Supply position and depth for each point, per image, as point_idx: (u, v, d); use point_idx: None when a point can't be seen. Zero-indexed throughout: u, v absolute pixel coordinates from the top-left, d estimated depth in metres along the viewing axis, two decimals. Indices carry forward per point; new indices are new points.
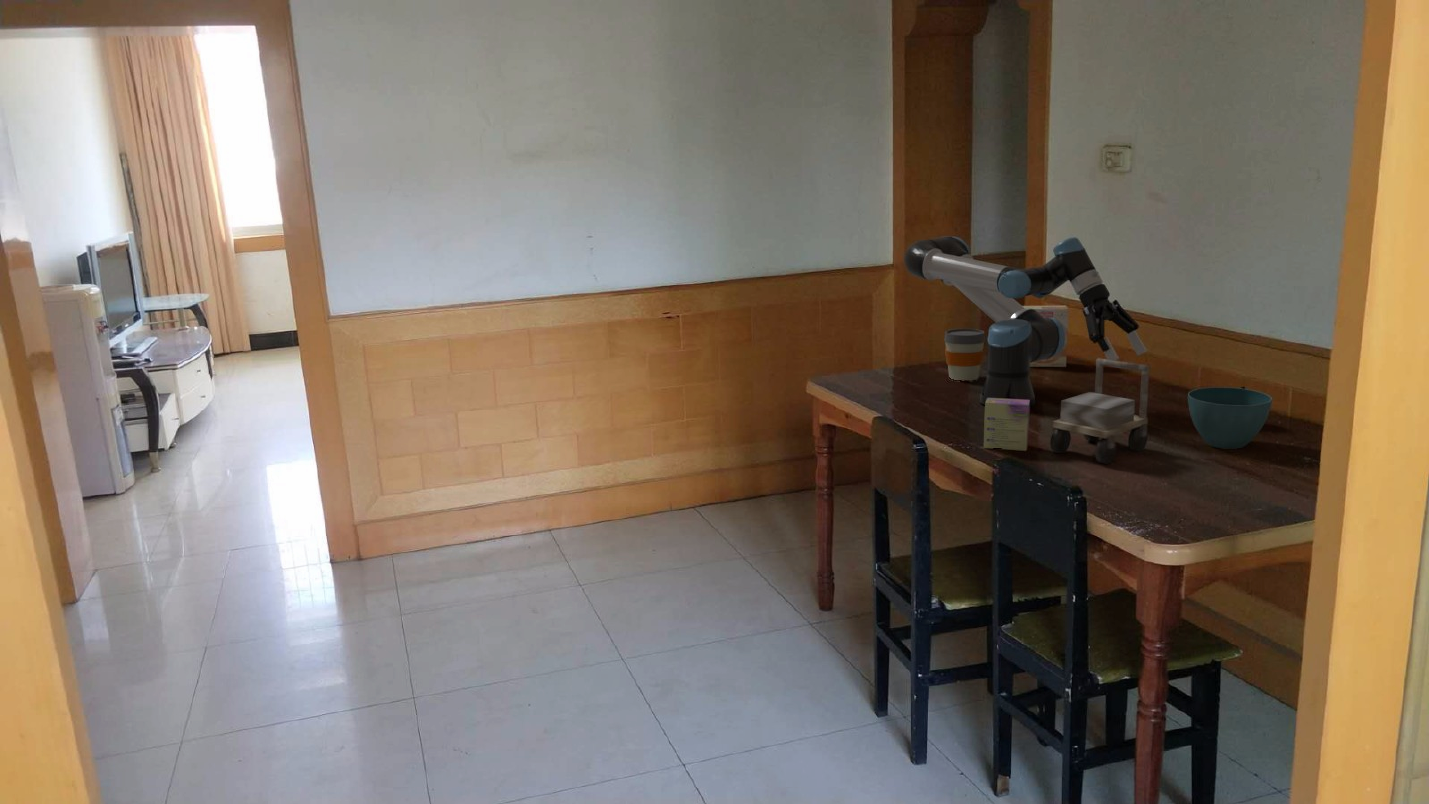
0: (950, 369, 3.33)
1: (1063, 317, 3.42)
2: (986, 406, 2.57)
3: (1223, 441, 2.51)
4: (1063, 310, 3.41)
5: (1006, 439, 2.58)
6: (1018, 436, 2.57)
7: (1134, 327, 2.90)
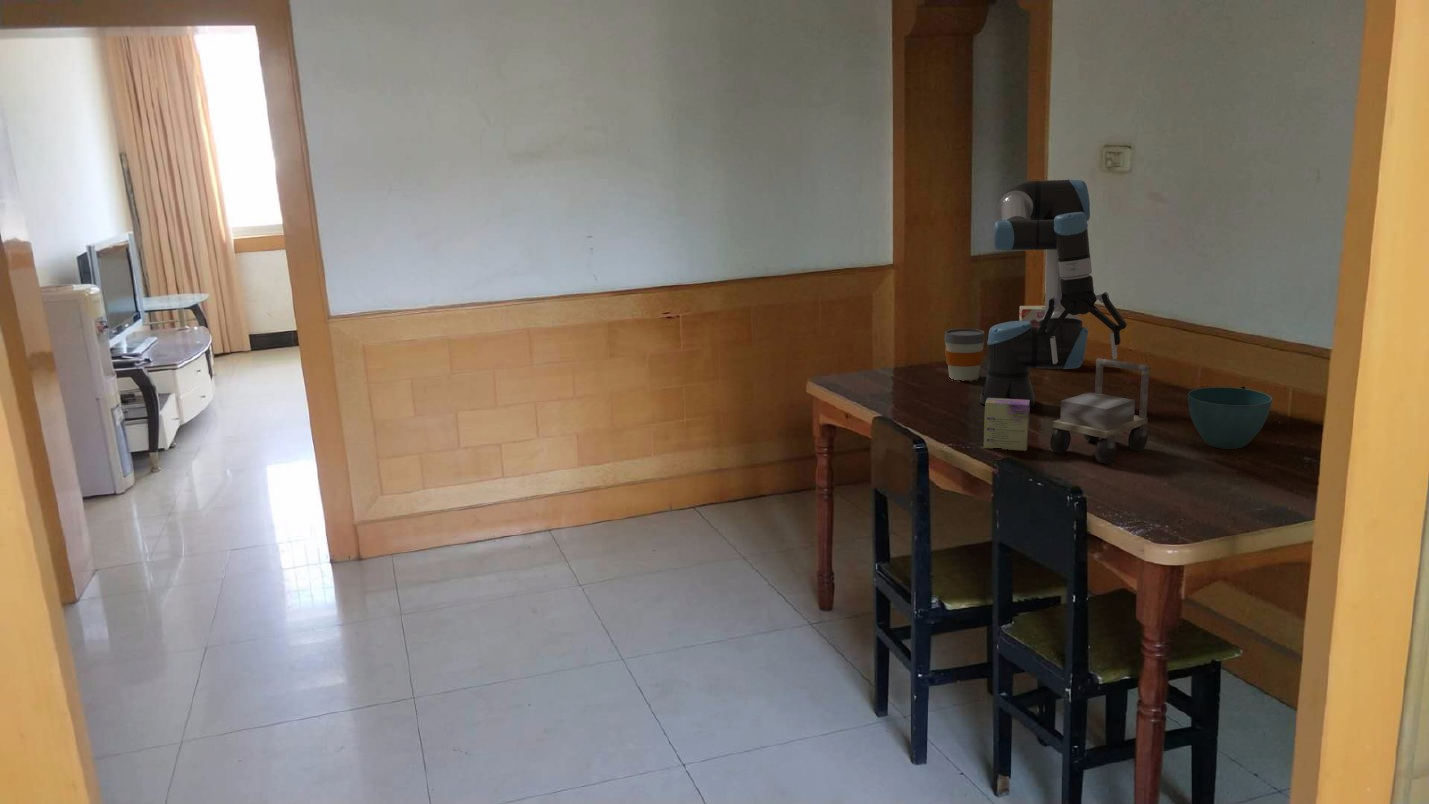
0: (950, 369, 3.33)
1: None
2: (986, 406, 2.57)
3: (1223, 441, 2.51)
4: None
5: (1006, 439, 2.58)
6: (1018, 436, 2.57)
7: (1114, 329, 2.55)
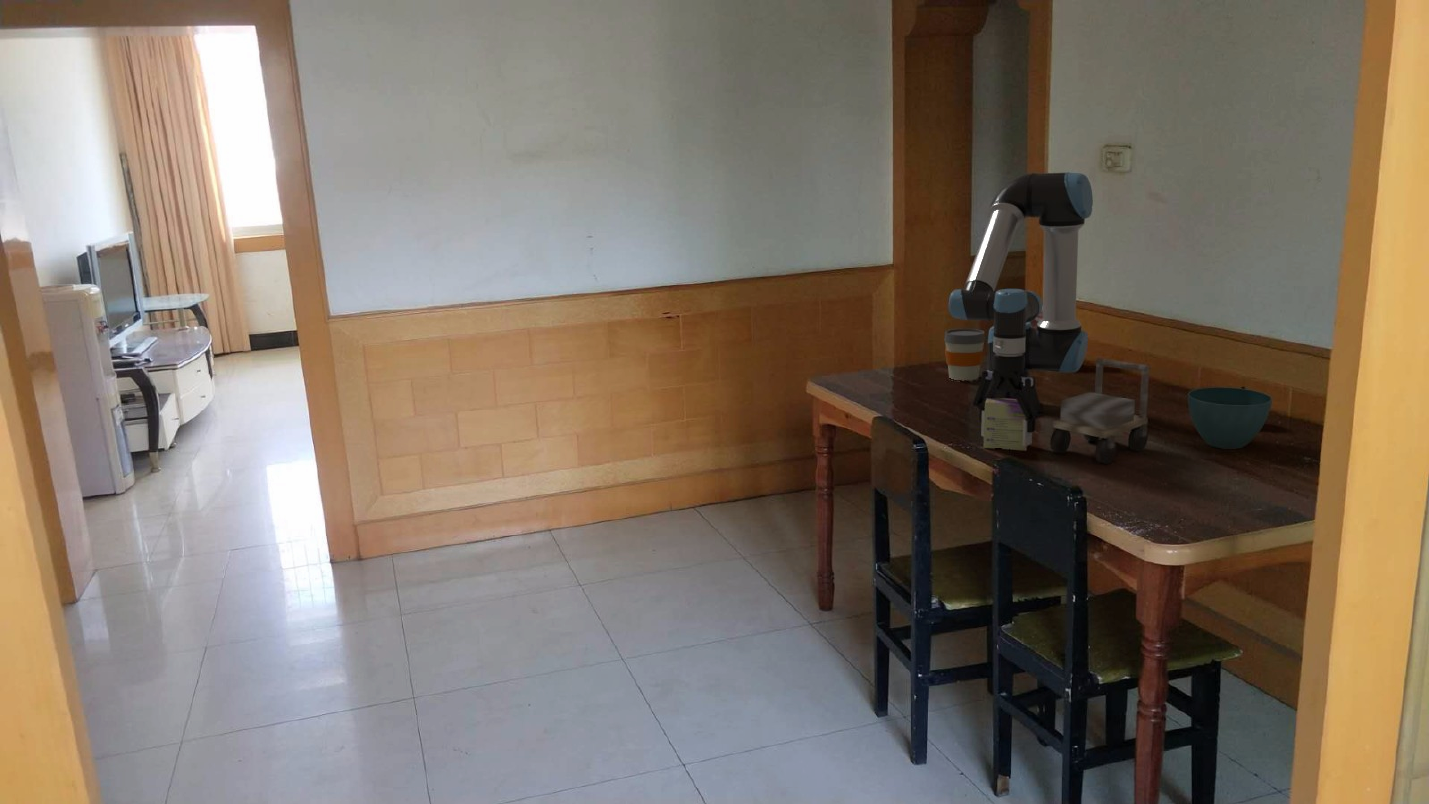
0: (950, 369, 3.33)
1: None
2: (986, 406, 2.57)
3: (1223, 441, 2.51)
4: None
5: (1006, 439, 2.58)
6: (1017, 436, 2.57)
7: (1027, 417, 2.53)
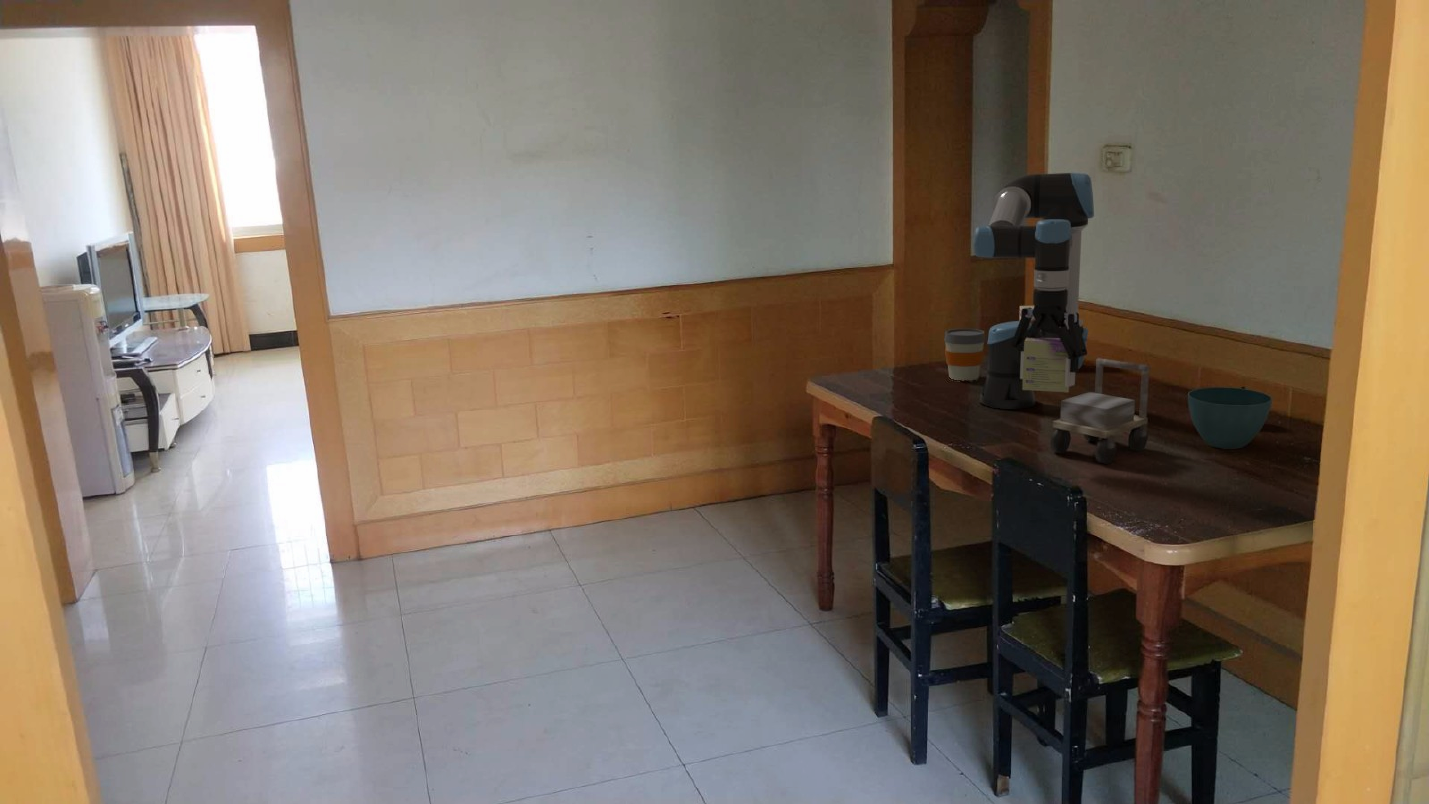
0: (950, 369, 3.33)
1: None
2: (1025, 345, 2.42)
3: (1223, 441, 2.51)
4: None
5: (1047, 380, 2.42)
6: (1059, 377, 2.41)
7: (1070, 355, 2.37)
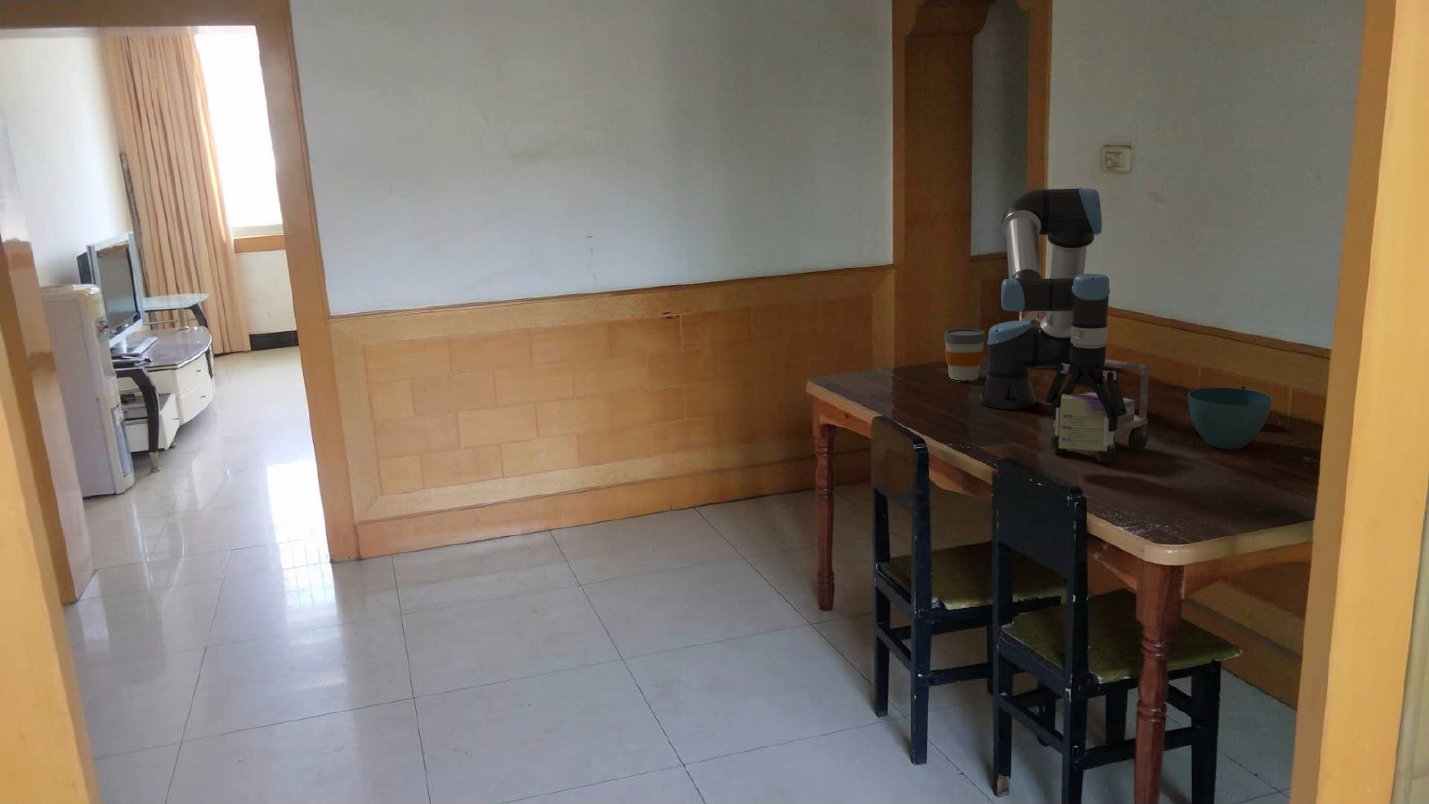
0: (950, 369, 3.33)
1: None
2: (1062, 402, 2.35)
3: (1223, 441, 2.51)
4: None
5: (1084, 438, 2.35)
6: (1097, 436, 2.34)
7: (1109, 414, 2.30)
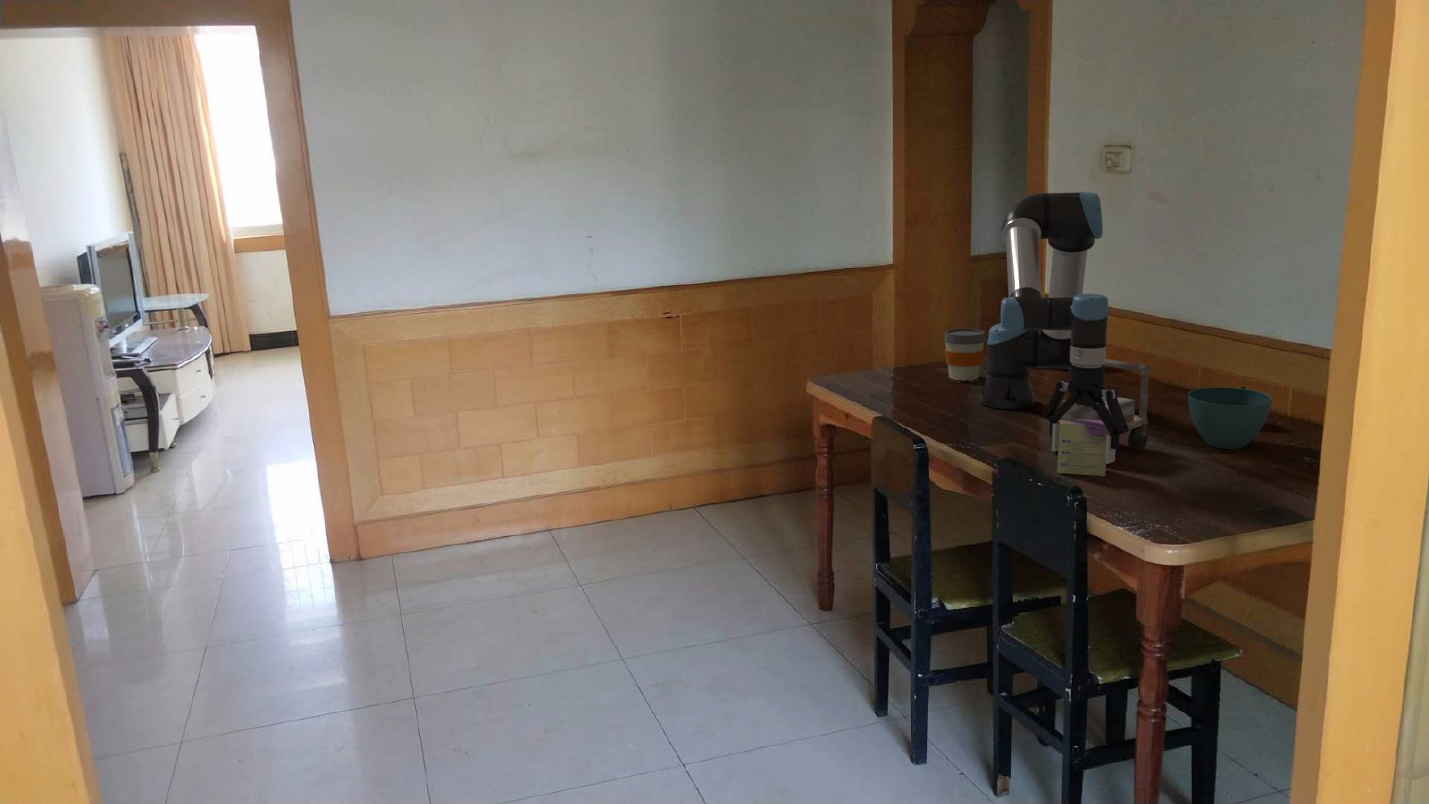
0: (950, 369, 3.33)
1: None
2: (1061, 428, 2.37)
3: (1223, 441, 2.51)
4: None
5: (1083, 463, 2.37)
6: (1096, 461, 2.36)
7: (1111, 432, 2.31)
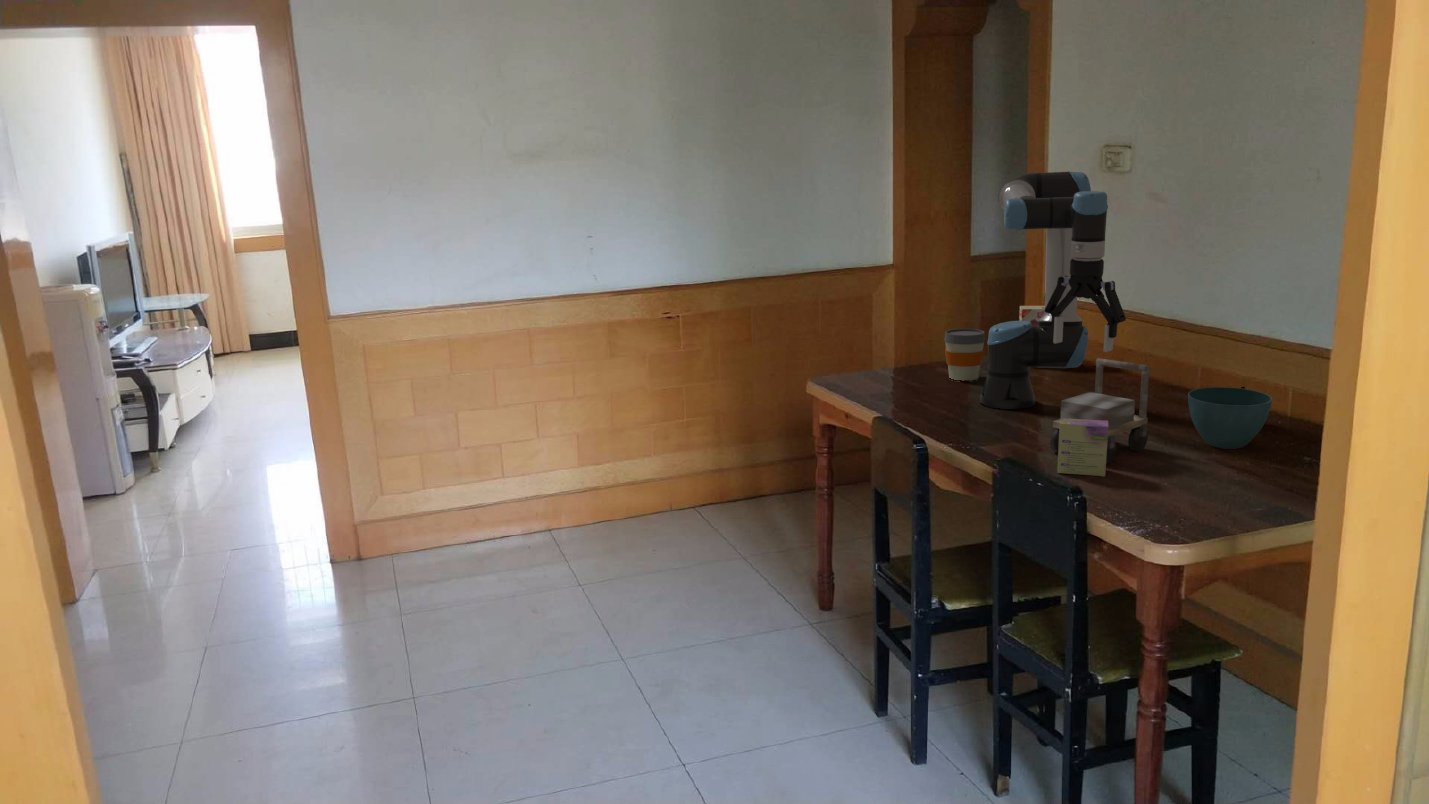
0: (950, 369, 3.33)
1: None
2: (1061, 428, 2.37)
3: (1223, 441, 2.51)
4: None
5: (1083, 463, 2.37)
6: (1096, 461, 2.36)
7: (1109, 321, 2.45)
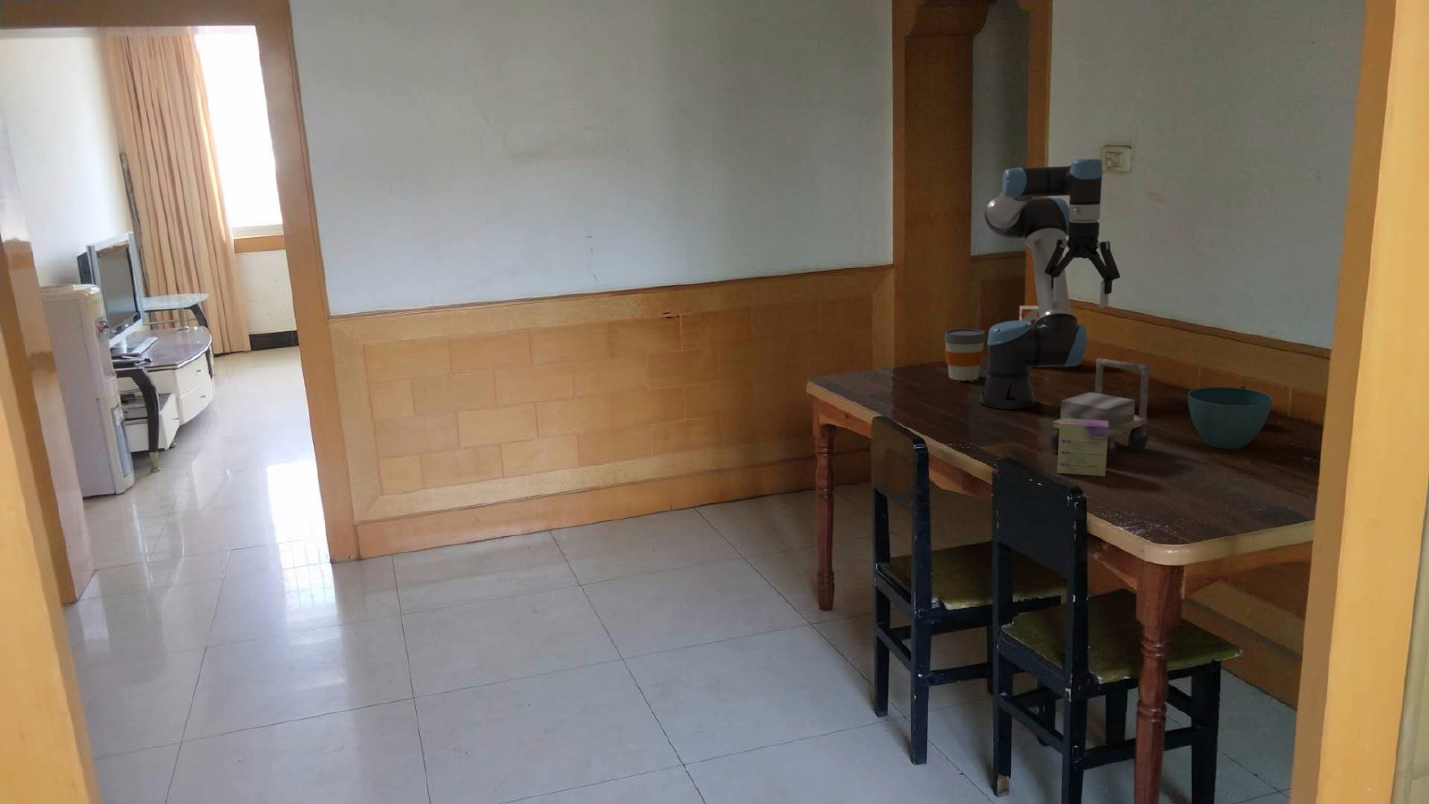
0: (950, 369, 3.33)
1: None
2: (1061, 428, 2.37)
3: (1223, 441, 2.51)
4: None
5: (1083, 463, 2.37)
6: (1096, 461, 2.36)
7: (1105, 278, 2.64)
